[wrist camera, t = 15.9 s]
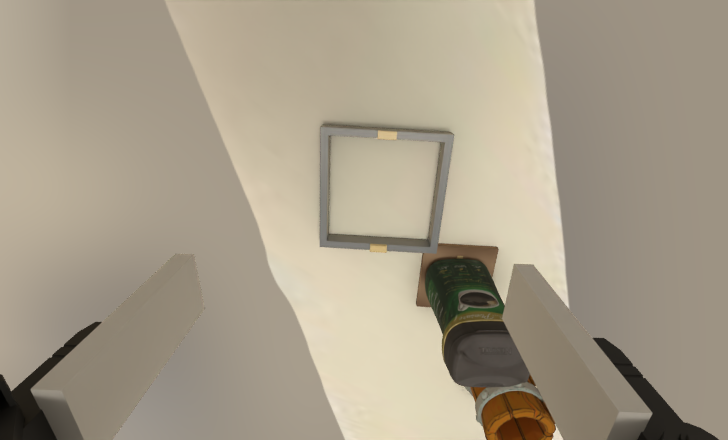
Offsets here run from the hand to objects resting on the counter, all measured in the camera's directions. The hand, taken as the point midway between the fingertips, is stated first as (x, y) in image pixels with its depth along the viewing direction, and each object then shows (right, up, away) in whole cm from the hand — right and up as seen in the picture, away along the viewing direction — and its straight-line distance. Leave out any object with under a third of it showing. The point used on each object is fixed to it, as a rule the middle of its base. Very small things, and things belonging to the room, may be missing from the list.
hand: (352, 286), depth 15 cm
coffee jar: (+15, -6, +40) cm, 43 cm away
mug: (+25, -22, +47) cm, 58 cm away
